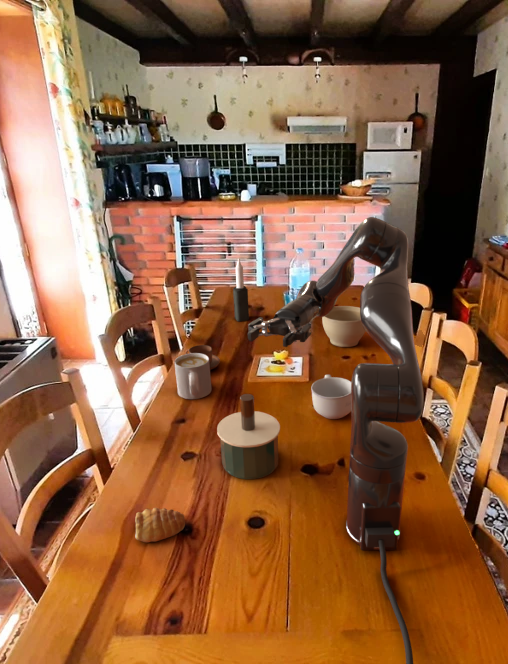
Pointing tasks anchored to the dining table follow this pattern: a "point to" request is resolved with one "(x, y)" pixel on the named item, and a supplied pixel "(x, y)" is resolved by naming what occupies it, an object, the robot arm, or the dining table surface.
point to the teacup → (332, 397)
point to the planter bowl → (344, 326)
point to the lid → (248, 426)
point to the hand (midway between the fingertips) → (266, 340)
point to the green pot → (250, 459)
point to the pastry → (158, 524)
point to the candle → (240, 295)
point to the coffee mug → (193, 375)
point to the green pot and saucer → (206, 351)
